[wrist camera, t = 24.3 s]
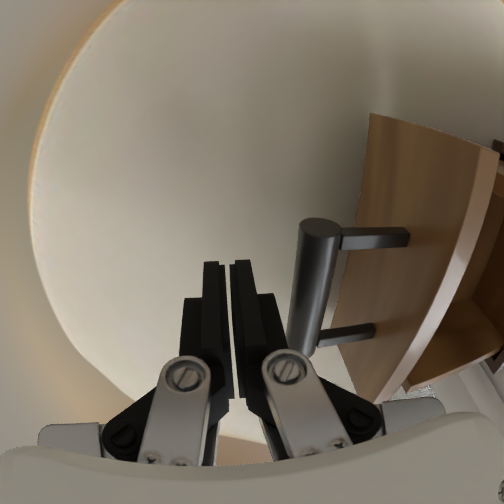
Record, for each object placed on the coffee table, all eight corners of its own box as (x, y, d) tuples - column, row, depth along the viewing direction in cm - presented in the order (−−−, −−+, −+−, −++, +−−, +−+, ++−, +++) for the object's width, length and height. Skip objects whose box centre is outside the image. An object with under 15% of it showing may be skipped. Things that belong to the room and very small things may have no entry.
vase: (444, 381, 31) (493, 483, 14) (417, 386, 29) (469, 506, 12) (493, 325, 25) (560, 433, 8) (473, 324, 23) (550, 454, 7)
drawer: (266, 334, 17) (285, 431, 12) (278, 102, 10) (348, 114, 5) (462, 302, 19) (503, 355, 13) (512, 154, 12) (580, 193, 6)
